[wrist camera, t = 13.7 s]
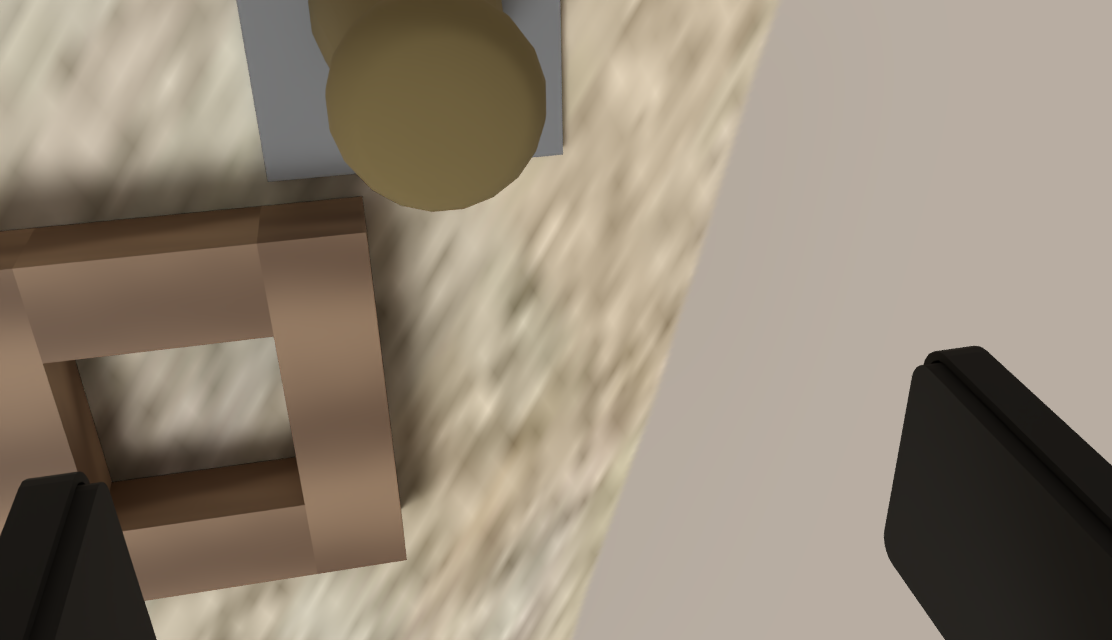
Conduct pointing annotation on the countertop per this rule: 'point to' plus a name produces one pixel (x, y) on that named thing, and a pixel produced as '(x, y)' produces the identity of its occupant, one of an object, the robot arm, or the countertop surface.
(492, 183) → the cork
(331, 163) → the rubber mat
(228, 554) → the socket block
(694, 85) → the countertop surface
